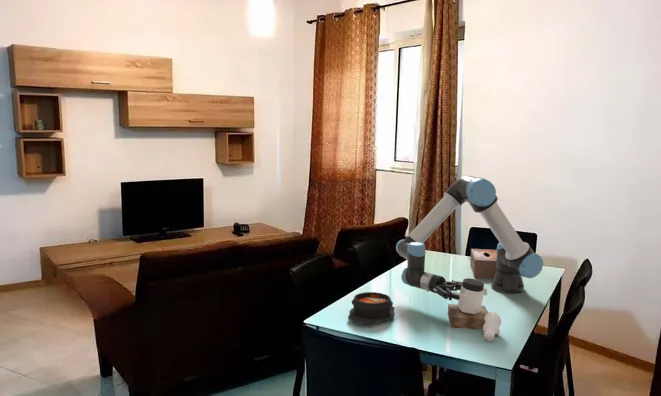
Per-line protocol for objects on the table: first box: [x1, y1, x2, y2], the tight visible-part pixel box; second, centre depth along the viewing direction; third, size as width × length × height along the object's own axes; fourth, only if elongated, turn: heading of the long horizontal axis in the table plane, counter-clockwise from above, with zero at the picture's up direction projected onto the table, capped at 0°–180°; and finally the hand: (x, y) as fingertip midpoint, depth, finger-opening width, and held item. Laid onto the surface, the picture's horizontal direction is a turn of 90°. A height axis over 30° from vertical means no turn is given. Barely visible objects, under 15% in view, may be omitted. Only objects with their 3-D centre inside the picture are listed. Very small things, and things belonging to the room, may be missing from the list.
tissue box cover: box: [469, 248, 497, 280], centre depth 278 cm, size 26×14×10 cm, turn 169°
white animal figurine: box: [482, 311, 502, 342], centre depth 190 cm, size 6×8×12 cm
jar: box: [457, 277, 485, 314], centre depth 204 cm, size 9×8×12 cm
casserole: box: [347, 291, 396, 325], centre depth 210 cm, size 25×19×8 cm
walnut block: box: [447, 303, 489, 331], centre depth 205 cm, size 15×15×5 cm
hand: (477, 295), depth 202 cm, fingers open, 13 cm apart
